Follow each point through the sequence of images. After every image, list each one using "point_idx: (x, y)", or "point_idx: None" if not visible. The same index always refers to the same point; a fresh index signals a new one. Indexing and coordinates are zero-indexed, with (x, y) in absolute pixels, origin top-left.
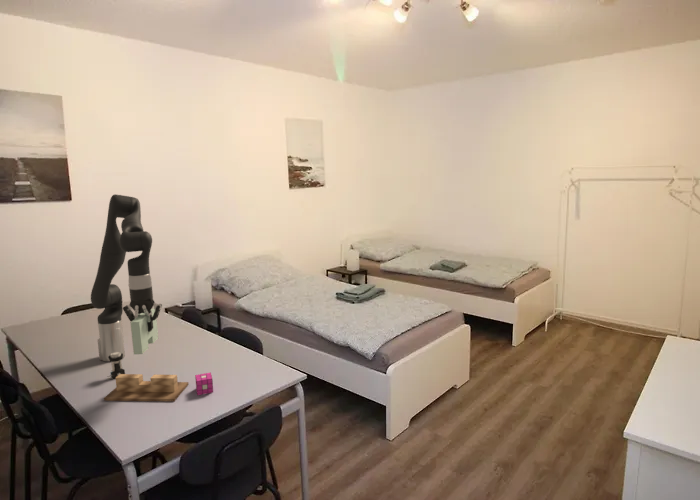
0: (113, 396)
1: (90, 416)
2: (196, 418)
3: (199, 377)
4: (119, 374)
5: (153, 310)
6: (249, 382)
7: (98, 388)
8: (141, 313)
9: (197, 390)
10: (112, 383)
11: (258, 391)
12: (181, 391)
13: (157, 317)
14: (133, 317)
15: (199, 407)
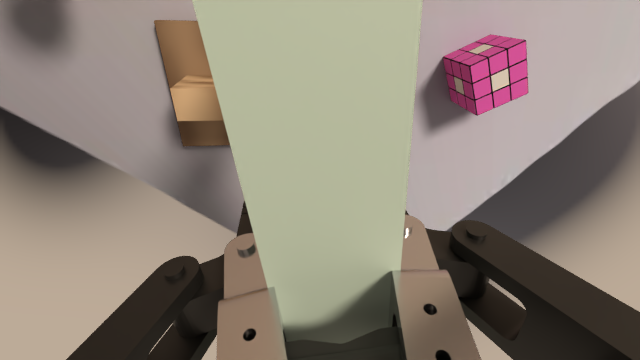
0: (207, 136)
1: (212, 211)
2: (460, 201)
3: (485, 87)
4: (171, 91)
5: (413, 77)
6: (617, 5)
7: (89, 62)
8: (275, 293)
9: (460, 105)
10: (107, 16)
11: (623, 71)
12: None
13: (489, 234)
14: (202, 319)
15: (462, 161)
